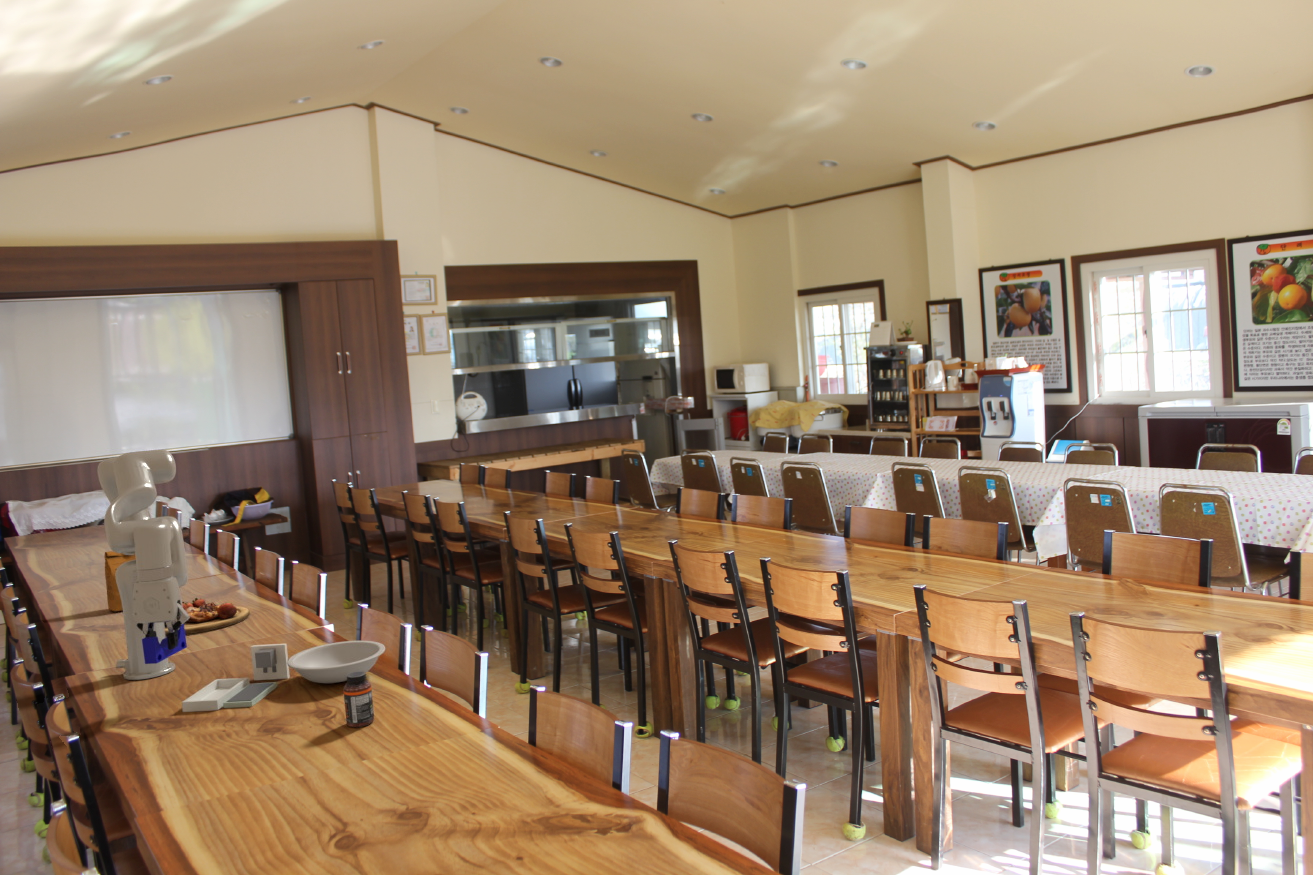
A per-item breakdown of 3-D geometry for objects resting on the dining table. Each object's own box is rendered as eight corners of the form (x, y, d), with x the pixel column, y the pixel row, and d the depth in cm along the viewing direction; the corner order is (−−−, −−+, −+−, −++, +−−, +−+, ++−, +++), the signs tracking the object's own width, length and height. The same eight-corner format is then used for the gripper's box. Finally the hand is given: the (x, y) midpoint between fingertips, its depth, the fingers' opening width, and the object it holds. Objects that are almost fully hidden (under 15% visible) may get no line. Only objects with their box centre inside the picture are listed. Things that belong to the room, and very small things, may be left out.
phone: (223, 707, 228) (223, 702, 228) (250, 688, 242) (249, 682, 242) (252, 706, 227) (251, 700, 227) (277, 686, 241) (276, 681, 241)
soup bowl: (405, 666, 252) (403, 641, 252) (348, 697, 230) (346, 670, 229) (330, 662, 260) (328, 638, 260) (268, 692, 238) (266, 666, 237)
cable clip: (169, 647, 236) (166, 624, 235) (186, 647, 235) (183, 623, 235) (139, 664, 224) (135, 639, 223) (157, 663, 224) (153, 638, 223)
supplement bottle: (345, 721, 213) (340, 672, 212) (372, 716, 215) (368, 667, 214) (347, 730, 208) (343, 679, 207) (376, 724, 210) (371, 674, 209)
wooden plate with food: (270, 616, 319) (267, 592, 319) (178, 641, 293) (175, 614, 292) (215, 610, 337) (213, 587, 337) (124, 633, 311) (121, 608, 310)
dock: (182, 711, 227) (181, 702, 227) (216, 688, 243) (216, 679, 243) (218, 709, 226) (217, 700, 226) (249, 686, 243) (248, 677, 243)
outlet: (248, 684, 245) (244, 650, 244) (256, 678, 249) (252, 645, 249) (282, 682, 245) (279, 648, 244) (289, 676, 249) (286, 643, 248)
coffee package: (151, 607, 344) (145, 547, 342) (112, 614, 336) (106, 553, 334) (144, 603, 352) (138, 544, 350) (106, 610, 343) (99, 550, 342)
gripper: (111, 579, 224) (119, 654, 226) (181, 575, 224) (189, 651, 225) (130, 572, 232) (137, 645, 233) (197, 568, 231) (204, 642, 233)
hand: (162, 647), depth 229 cm, fingers closed on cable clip, 4 cm apart
